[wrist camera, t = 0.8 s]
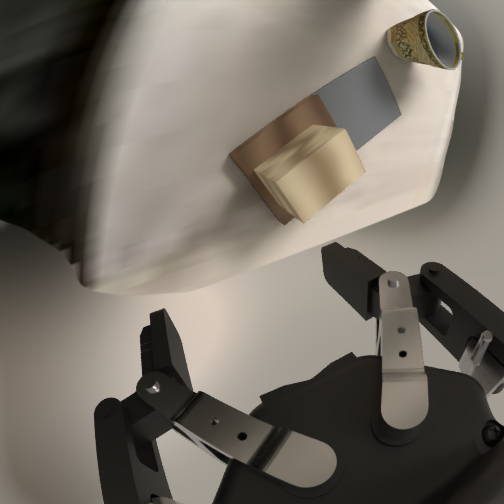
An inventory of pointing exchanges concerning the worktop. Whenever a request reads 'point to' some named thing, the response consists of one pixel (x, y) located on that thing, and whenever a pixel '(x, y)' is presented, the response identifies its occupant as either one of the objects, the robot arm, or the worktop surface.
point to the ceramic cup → (426, 40)
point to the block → (311, 170)
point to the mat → (360, 102)
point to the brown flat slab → (279, 144)
